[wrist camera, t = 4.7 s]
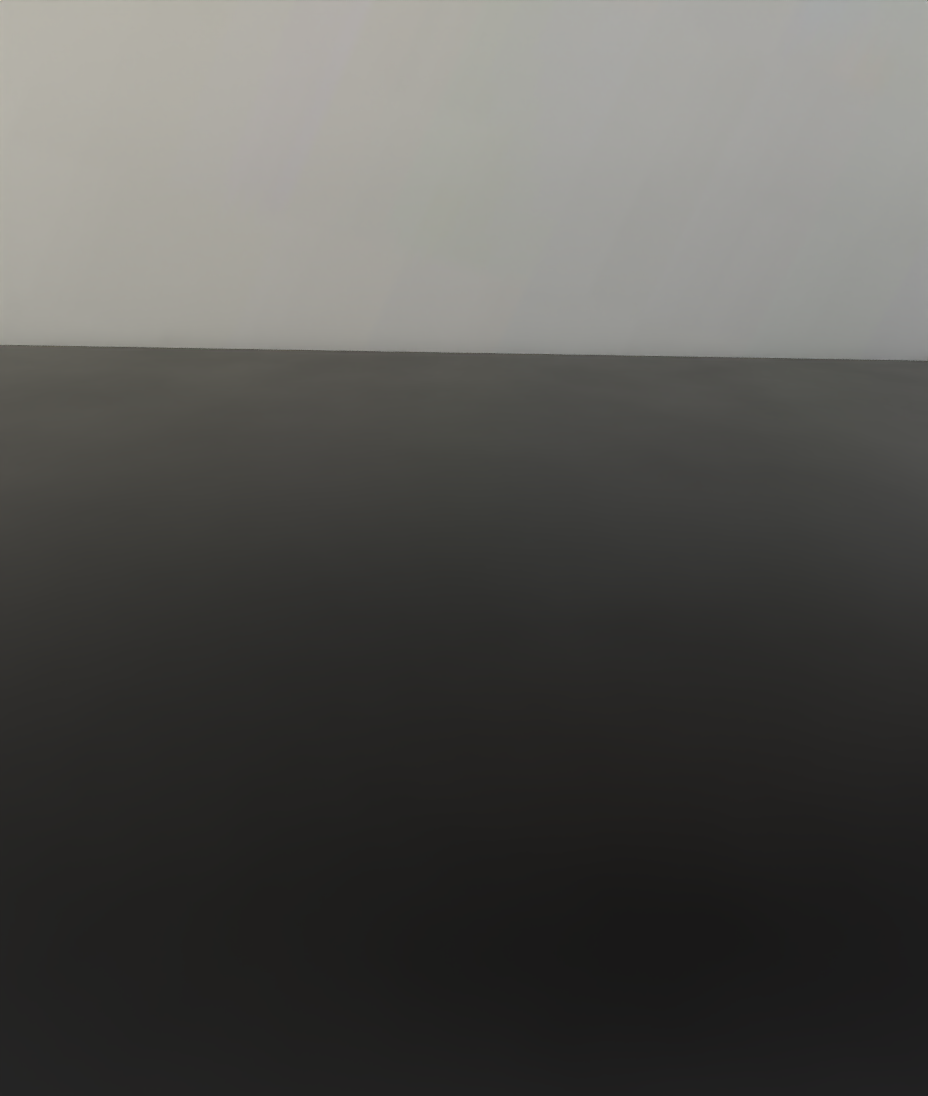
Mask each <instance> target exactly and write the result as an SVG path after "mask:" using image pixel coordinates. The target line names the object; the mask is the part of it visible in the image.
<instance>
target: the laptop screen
mask: <svg viewBox="0 0 928 1096" xmlns="http://www.w3.org/2000/svg"><path fill="white" fill-rule="evenodd" d="M0 1096H928V361H908V360H849V359H791V358H732V357H674V356H615V355H556V354H498V353H439V352H381V351H322V350H263V349H205V348H146V347H88V346H29V345H0Z"/></svg>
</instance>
